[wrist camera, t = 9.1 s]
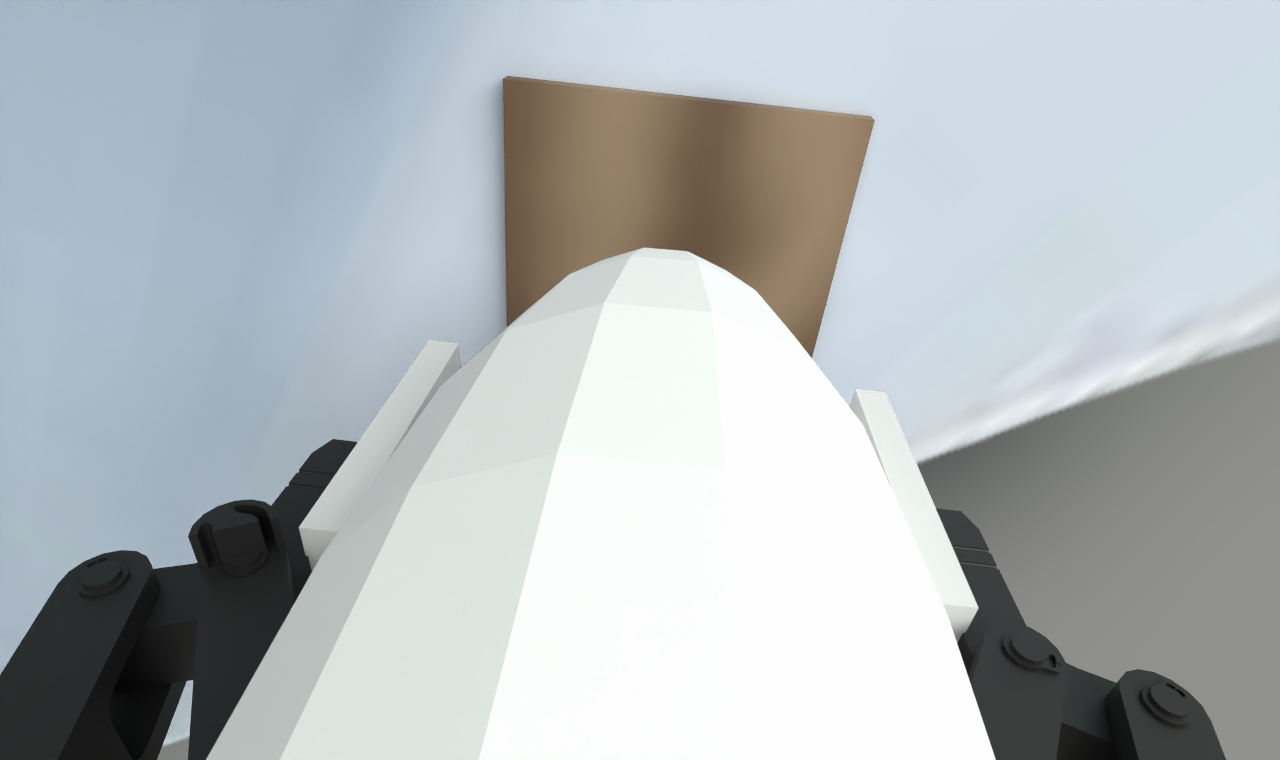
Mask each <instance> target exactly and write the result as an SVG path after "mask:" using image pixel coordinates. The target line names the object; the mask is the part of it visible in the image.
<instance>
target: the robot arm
mask: <svg viewBox="0 0 1280 760" xmlns="http://www.w3.org/2000/svg"><path fill="white" fill-rule="evenodd" d="M460 368H461V367H460V350H459V343H453V342H445V341H436V340H428V342H427V343H426V345H425V346H424V348H423V349H422V351H421V352H420V353H419V355H418V356H417V358H416V359H415V361H414V362H413V364H412V365H411V366H410V368H409V369H408V371H407V372H406V374H405V375H404V376H403V378H402V379H401V381H400V382H399V384H398V385H397V387H396V388H395V389H394V391H393V392H392V394H391V395H390V397H389V398H388V400H387V401H386V402H385V404H384V405H383V407H382V408H381V410H380V411H379V413H378V414H377V415H376V417H375V418H374V420H373V421H372V423H371V424H370V425H369V427H368V428H367V430H366V431H365V433H364V434H363V436H362V437H361V438H360V440H359V441H358V442H353V441H344V440H336V439H333V440H331V441H329V442H328V443H326V444H325V445H323V446H322V447H320V448H319V449H317V450H316V451H314V452H313V453H312V454H311V455H310V456H309V458H308V459H307V460H306V462H305V463H304V464H303V465H302V467H301V468H300V469H299V473H296V475H295V476H294V477H293V478H292V480H291V481H290V482H289V486H288V487H286V488H285V489H284V490H283V491H282V493H281V494H280V495H279V497H278V498H277V499H276V501H275V502H274V503H273V504H272V506H270V505H269V504H267V503H266V502H262V501H257V500H240V501H233V502H230V503H227V504H224V505H220V506H218V507H216V508H214V509H212V510H211V511H209V512H207V513H205V514H204V515H203V516H202V517H201V518H200V519H199V520H198V521H197V522H196V523H195V524H194V525H193V526H192V528H191V531H190V533H189V536H188V537H189V540H190V543H191V545H192V548H193V551H194V553H195V556H196V559H197V562H198V563H195V564H188V565H181V566H173V567H165V568H158V569H153V568H152V565H151V563H150V561H149V559H148V558H147V556H145V555H143V554H141V553H139V552H137V551H123V550H120V551H115V552H110V553H105V554H101V555H99V556H96V557H94V558H91V559H89V560H87V561H84V562H83V563H81V564H80V565H78V566H77V567H75V568H74V569H72V570H71V571H69V572H68V573H67V574H66V575H65V577H64V578H63V579H62V580H61V581H60V582H59V583H58V584H57V586H56V588H55V589H54V591H53V592H52V594H51V596H50V597H49V599H48V600H47V602H46V603H45V605H44V607H43V608H42V610H41V611H40V613H39V615H38V616H37V618H36V619H35V621H34V622H33V624H32V626H31V627H30V629H29V630H28V632H27V634H26V635H25V637H24V638H23V640H22V641H21V643H20V645H19V646H18V648H17V649H16V651H15V653H14V654H13V656H12V657H11V659H10V660H9V662H8V664H7V665H6V667H5V668H4V670H3V672H2V673H1V675H0V760H157V758H158V755H159V753H160V750H161V747H162V745H163V742H164V740H165V737H166V734H167V732H168V729H169V726H170V724H171V721H172V718H173V716H174V713H175V710H176V708H177V705H178V703H179V700H180V697H181V695H182V692H183V689H184V687H185V684H186V681H189V680H193V695H192V709H191V724H190V739H189V753H188V760H206V759H207V757H208V755H209V754H210V752H211V750H212V748H213V746H214V745H215V743H216V741H217V739H218V738H219V736H220V734H221V732H222V731H223V729H224V727H225V725H226V723H227V722H228V720H229V718H230V716H231V715H232V713H233V711H234V709H235V708H236V706H237V704H238V702H239V700H240V699H241V697H242V695H243V693H244V692H245V690H246V688H247V686H248V685H249V683H250V681H251V679H252V677H253V676H254V674H255V672H256V670H257V669H258V667H259V665H260V663H261V662H262V660H263V658H264V656H265V654H266V653H267V651H268V649H269V647H270V646H271V644H272V642H273V640H274V639H275V637H276V635H277V633H278V632H279V630H280V628H281V626H282V624H283V623H284V621H285V619H286V617H287V616H288V614H289V612H290V610H291V609H292V607H293V605H294V603H295V601H296V600H297V598H298V596H299V594H300V593H301V591H302V589H303V587H304V586H305V584H306V582H307V580H308V578H309V577H310V575H311V573H312V571H313V570H314V568H315V566H316V564H317V563H318V561H319V559H320V557H321V556H322V554H323V553H324V551H325V550H326V549H327V547H328V546H329V544H330V543H331V541H332V540H333V539H334V537H335V536H336V534H337V533H338V531H339V530H340V529H341V527H342V526H343V524H344V523H345V521H346V520H347V519H348V517H349V516H350V514H351V513H352V511H353V510H354V509H355V507H356V506H357V504H358V503H359V501H360V500H361V499H362V497H363V496H364V494H365V493H366V491H367V490H368V489H369V487H370V486H371V484H372V483H373V482H374V480H375V479H376V477H377V476H378V474H379V473H380V472H381V470H382V469H383V467H384V466H385V464H386V463H387V462H388V460H389V459H390V457H391V456H392V454H393V453H394V452H395V450H396V449H397V447H398V446H399V444H400V443H401V442H402V440H403V439H404V437H405V436H406V434H407V433H408V432H409V430H410V429H411V427H412V426H413V424H414V423H415V422H416V420H417V419H418V417H419V416H420V414H421V413H422V412H423V410H424V409H425V407H426V406H427V405H428V403H429V402H430V400H431V399H432V397H433V396H434V395H435V393H436V392H437V390H438V389H439V387H440V386H441V385H442V384H443V383H444V382H446V381H447V380H448V379H449V378H450V377H451V376H452V375H453V374H455V373H456V372H457V371H458V370H459V369H460ZM850 409H851V410H852V411H853V412H854V414H855V415H856V416H857V418H858V419H859V420H860V422H861V423H862V424H863V426H864V428H865V431H866V433H867V435H868V437H869V440H870V442H871V444H872V446H873V449H874V451H875V453H876V455H877V458H878V460H879V462H880V464H881V467H882V469H883V471H884V473H885V476H886V478H887V480H888V482H889V485H890V487H891V489H892V491H893V494H894V496H895V498H896V500H897V503H898V505H899V507H900V509H901V512H902V514H903V516H904V518H905V521H906V523H907V525H908V527H909V530H910V532H911V534H912V537H913V539H914V541H915V543H916V546H917V548H918V550H919V552H920V555H921V557H922V559H923V561H924V564H925V566H926V568H927V570H928V573H929V575H930V577H931V579H932V582H933V584H934V586H935V588H936V591H937V593H938V595H939V597H940V600H941V602H942V604H943V606H944V609H945V611H946V613H947V615H948V618H949V620H950V623H951V627H952V630H953V633H954V636H955V639H956V642H957V645H958V648H959V651H960V654H961V657H962V660H963V663H964V666H965V669H966V672H967V675H968V678H969V681H970V684H971V687H972V690H973V693H974V696H975V699H976V702H977V705H978V708H979V711H980V714H981V717H982V720H983V723H984V726H985V729H986V732H987V735H988V738H989V741H990V744H991V747H992V750H993V753H994V756H995V759H996V760H1226V759H1225V756H1224V753H1223V751H1222V748H1221V746H1220V743H1219V740H1218V738H1217V735H1216V733H1215V730H1214V727H1213V725H1212V722H1211V720H1210V719H1209V717H1208V715H1207V713H1206V712H1205V710H1204V708H1203V707H1202V706H1201V704H1200V703H1199V702H1198V701H1197V700H1196V699H1195V698H1194V697H1193V696H1192V695H1191V694H1190V693H1189V692H1188V691H1186V690H1185V689H1183V688H1182V687H1181V686H1179V685H1178V684H1176V683H1175V682H1173V681H1172V680H1170V679H1168V678H1166V677H1163V676H1161V675H1159V674H1157V673H1155V672H1150V671H1144V670H1139V669H1138V670H1132V671H1127V672H1126V673H1125V674H1124V675H1123V676H1122V677H1121V679H1120V680H1119V681H1118V682H1117V683H1115V682H1112V681H1110V680H1107V679H1104V678H1102V677H1099V676H1096V675H1094V674H1091V673H1088V672H1086V671H1083V670H1081V669H1078V668H1076V667H1074V666H1071V665H1069V664H1067V663H1066V662H1065V661H1064V659H1063V657H1062V656H1061V654H1060V652H1059V650H1058V649H1057V648H1056V647H1055V646H1054V645H1053V644H1052V643H1051V642H1050V641H1049V640H1048V639H1047V638H1046V637H1044V636H1043V635H1041V634H1040V633H1038V632H1036V631H1035V630H1033V629H1032V628H1030V627H1027V626H1026V624H1025V622H1024V620H1023V618H1022V616H1021V614H1020V612H1019V610H1018V608H1017V606H1016V604H1015V602H1014V600H1013V598H1012V596H1011V594H1010V592H1009V590H1008V588H1007V586H1006V583H1005V581H1004V580H1003V577H1002V575H1001V573H1000V571H999V569H996V563H995V561H994V559H993V557H992V555H991V553H989V552H988V550H989V549H988V547H987V545H986V543H985V541H984V539H983V536H982V534H981V533H980V531H979V529H978V528H977V527H976V526H975V525H974V524H973V523H972V522H971V521H970V520H969V519H968V518H967V517H966V516H965V515H964V514H963V513H962V512H961V511H953V510H945V509H936V508H935V506H934V503H933V501H932V499H931V496H930V494H929V492H928V489H927V487H926V485H925V482H924V480H923V478H922V475H921V473H920V471H919V468H918V466H917V464H916V461H915V459H914V457H913V454H912V452H911V450H910V447H909V445H908V443H907V441H906V438H905V436H904V434H903V431H902V429H901V427H900V424H899V422H898V420H897V417H896V415H895V413H894V410H893V408H892V406H891V403H890V401H889V399H888V396H887V394H886V392H878V391H869V390H860V389H855V392H854V395H853V398H852V401H851V404H850Z"/></svg>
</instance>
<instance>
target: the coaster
mask: <svg viewBox="0 0 1280 760" xmlns="http://www.w3.org/2000/svg"><path fill="white" fill-rule="evenodd" d="M503 91H504V158H505V225H506V292H507V327H508V326H509V325H510V324H511V323H513V322H514V321H515V320H516V319H517V318H518V317H519V316H521V315H522V314H523V313H524V312H525V311H526V310H527V309H529V308H530V307H531V306H532V305H533V304H535V303H536V302H537V301H538V300H539V299H541V298H542V297H543V296H544V295H545V294H546V293H548V292H549V291H550V290H551V289H552V288H554V287H555V286H556V285H557V284H558V283H560V282H561V281H562V280H563V279H564V278H566V277H567V276H568V275H569V274H571V273H573V272H576V271H578V270H580V269H583V268H585V267H587V266H590V265H592V264H595V263H597V262H599V261H602V260H604V259H608V258H611V257H614V256H618V255H621V254H624V253H627V252H631V251H634V250H637V249H641V248H655V249H667V250H679V251H688V252H690V253H692V254H694V255H696V256H698V257H700V258H702V259H704V260H706V261H708V262H710V263H712V264H714V265H716V266H718V267H720V268H722V269H724V270H726V271H728V272H729V273H731V274H732V275H734V276H735V277H737V278H738V279H740V280H741V281H743V282H744V283H746V284H747V285H749V286H750V287H752V288H753V289H754V290H756V291H757V292H758V294H759V295H760V296H761V297H762V298H763V300H764V301H765V302H766V303H767V304H768V305H769V307H770V308H771V309H772V310H773V311H774V313H775V314H776V315H777V316H778V317H779V318H780V320H781V321H782V322H783V323H784V324H785V326H786V327H787V328H788V329H789V330H790V331H791V333H792V334H793V335H794V336H795V338H796V339H797V340H798V341H799V343H800V344H801V345H802V347H803V348H804V349H805V350H806V352H807V353H808V354H809V356H810V357H811V358H812V355H813V351H814V347H815V344H816V340H817V336H818V332H819V329H820V325H821V321H822V317H823V313H824V310H825V306H826V302H827V298H828V295H829V291H830V287H831V283H832V279H833V276H834V272H835V268H836V264H837V260H838V257H839V253H840V249H841V245H842V242H843V238H844V234H845V230H846V226H847V223H848V219H849V215H850V211H851V207H852V204H853V200H854V196H855V192H856V189H857V185H858V181H859V177H860V173H861V170H862V166H863V162H864V158H865V154H866V151H867V147H868V143H869V139H870V136H871V132H872V128H873V124H874V119H873V118H872V117H870V116H861V115H852V114H843V113H834V112H825V111H816V110H807V109H798V108H789V107H780V106H772V105H763V104H754V103H745V102H736V101H727V100H718V99H709V98H700V97H691V96H682V95H673V94H664V93H655V92H646V91H637V90H628V89H619V88H610V87H601V86H592V85H583V84H574V83H565V82H556V81H547V80H538V79H529V78H520V77H511V76H507V77H506V78H504V79H503Z"/></svg>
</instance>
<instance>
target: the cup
mask: <svg viewBox="0 0 1280 760" xmlns="http://www.w3.org/2000/svg"><path fill="white" fill-rule="evenodd" d="M206 760H996V759H995V756H994V753H993V750H992V747H991V744H990V741H989V738H988V735H987V732H986V729H985V726H984V723H983V720H982V717H981V714H980V711H979V708H978V705H977V702H976V699H975V696H974V693H973V690H972V687H971V684H970V681H969V678H968V675H967V672H966V669H965V666H964V663H963V660H962V657H961V654H960V651H959V648H958V645H957V642H956V639H955V636H954V633H953V630H952V627H951V623H950V620H949V618H948V615H947V613H946V611H945V609H944V606H943V604H942V602H941V600H940V597H939V595H938V593H937V591H936V588H935V586H934V584H933V582H932V579H931V577H930V575H929V573H928V570H927V568H926V566H925V564H924V561H923V559H922V557H921V555H920V552H919V550H918V548H917V546H916V543H915V541H914V539H913V537H912V534H911V532H910V530H909V527H908V525H907V523H906V521H905V518H904V516H903V514H902V512H901V509H900V507H899V505H898V503H897V500H896V498H895V496H894V494H893V491H892V489H891V487H890V485H889V482H888V480H887V478H886V476H885V473H884V471H883V469H882V467H881V464H880V462H879V460H878V458H877V455H876V453H875V451H874V449H873V446H872V444H871V442H870V440H869V437H868V435H867V433H866V431H865V428H864V426H863V424H862V423H861V422H860V420H859V419H858V418H857V416H856V415H855V414H854V412H853V411H852V410H851V409H850V407H849V406H848V405H847V403H846V402H845V401H844V400H843V398H842V397H841V396H840V394H839V393H838V392H837V391H836V389H835V388H834V387H833V385H832V384H831V383H830V381H829V380H828V379H827V378H826V376H825V375H824V374H823V372H822V371H821V370H820V369H819V367H818V366H817V365H816V363H815V362H814V361H813V360H812V358H811V357H810V356H809V354H808V353H807V352H806V350H805V349H804V348H803V347H802V345H801V344H800V343H799V341H798V340H797V339H796V338H795V336H794V335H793V334H792V333H791V331H790V330H789V329H788V328H787V327H786V326H785V324H784V323H783V322H782V321H781V320H780V318H779V317H778V316H777V315H776V314H775V313H774V311H773V310H772V309H771V308H770V307H769V305H768V304H767V303H766V302H765V301H764V300H763V298H762V297H761V296H760V295H759V294H758V292H757V291H756V290H754V289H753V288H752V287H750V286H749V285H747V284H746V283H744V282H743V281H741V280H740V279H738V278H737V277H735V276H734V275H732V274H731V273H729V272H728V271H726V270H724V269H722V268H720V267H718V266H716V265H714V264H712V263H710V262H708V261H706V260H704V259H702V258H700V257H698V256H696V255H694V254H692V253H690V252H688V251H679V250H667V249H655V248H641V249H637V250H634V251H631V252H627V253H624V254H621V255H618V256H614V257H611V258H608V259H604V260H602V261H599V262H597V263H595V264H592V265H590V266H587V267H585V268H583V269H580V270H578V271H576V272H573V273H571V274H569V275H568V276H567V277H566V278H564V279H563V280H562V281H561V282H560V283H558V284H557V285H556V286H555V287H554V288H552V289H551V290H550V291H549V292H548V293H546V294H545V295H544V296H543V297H542V298H541V299H539V300H538V301H537V302H536V303H535V304H533V305H532V306H531V307H530V308H529V309H527V310H526V311H525V312H524V313H523V314H522V315H521V316H519V317H518V318H517V319H516V320H515V321H514V322H513V323H511V324H510V325H509V326H508V327H507V328H506V329H505V330H503V331H502V332H501V333H500V334H499V335H498V336H497V337H496V338H494V339H493V340H492V341H491V342H490V343H489V344H488V345H486V346H485V347H484V348H483V349H482V350H481V351H480V352H478V353H477V354H476V355H475V356H474V357H473V358H472V359H471V360H469V361H468V362H467V363H466V364H465V365H464V366H463V367H461V368H460V369H459V370H458V371H457V372H456V373H455V374H453V375H452V376H451V377H450V378H449V379H448V380H447V381H446V382H444V383H443V384H442V385H441V386H440V387H439V389H438V390H437V392H436V393H435V395H434V396H433V397H432V399H431V400H430V402H429V403H428V405H427V406H426V407H425V409H424V410H423V412H422V413H421V414H420V416H419V417H418V419H417V420H416V422H415V423H414V424H413V426H412V427H411V429H410V430H409V432H408V433H407V434H406V436H405V437H404V439H403V440H402V442H401V443H400V444H399V446H398V447H397V449H396V450H395V452H394V453H393V454H392V456H391V457H390V459H389V460H388V462H387V463H386V464H385V466H384V467H383V469H382V470H381V472H380V473H379V474H378V476H377V477H376V479H375V480H374V482H373V483H372V484H371V486H370V487H369V489H368V490H367V491H366V493H365V494H364V496H363V497H362V499H361V500H360V501H359V503H358V504H357V506H356V507H355V509H354V510H353V511H352V513H351V514H350V516H349V517H348V519H347V520H346V521H345V523H344V524H343V526H342V527H341V529H340V530H339V531H338V533H337V534H336V536H335V537H334V539H333V540H332V541H331V543H330V544H329V546H328V547H327V549H326V550H325V551H324V553H323V554H322V556H321V557H320V559H319V561H318V563H317V564H316V566H315V568H314V570H313V571H312V573H311V575H310V577H309V578H308V580H307V582H306V584H305V586H304V587H303V589H302V591H301V593H300V594H299V596H298V598H297V600H296V601H295V603H294V605H293V607H292V609H291V610H290V612H289V614H288V616H287V617H286V619H285V621H284V623H283V624H282V626H281V628H280V630H279V632H278V633H277V635H276V637H275V639H274V640H273V642H272V644H271V646H270V647H269V649H268V651H267V653H266V654H265V656H264V658H263V660H262V662H261V663H260V665H259V667H258V669H257V670H256V672H255V674H254V676H253V677H252V679H251V681H250V683H249V685H248V686H247V688H246V690H245V692H244V693H243V695H242V697H241V699H240V700H239V702H238V704H237V706H236V708H235V709H234V711H233V713H232V715H231V716H230V718H229V720H228V722H227V723H226V725H225V727H224V729H223V731H222V732H221V734H220V736H219V738H218V739H217V741H216V743H215V745H214V746H213V748H212V750H211V752H210V754H209V755H208V757H207V759H206Z"/></svg>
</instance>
